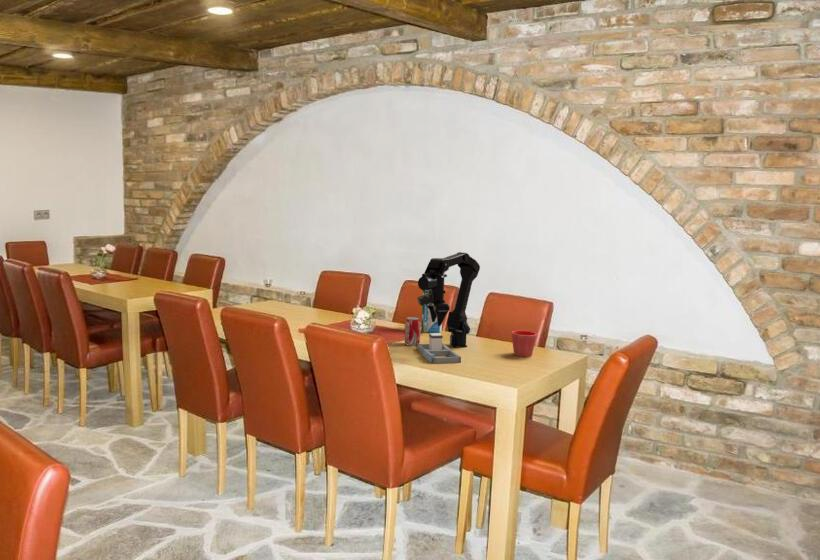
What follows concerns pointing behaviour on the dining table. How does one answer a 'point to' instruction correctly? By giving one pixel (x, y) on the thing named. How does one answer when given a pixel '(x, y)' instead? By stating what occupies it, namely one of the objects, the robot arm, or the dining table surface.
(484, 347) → the dining table surface
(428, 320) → the milk carton
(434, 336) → the cylinder
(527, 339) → the flower pot
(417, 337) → the soda can
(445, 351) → the grey divided tray
